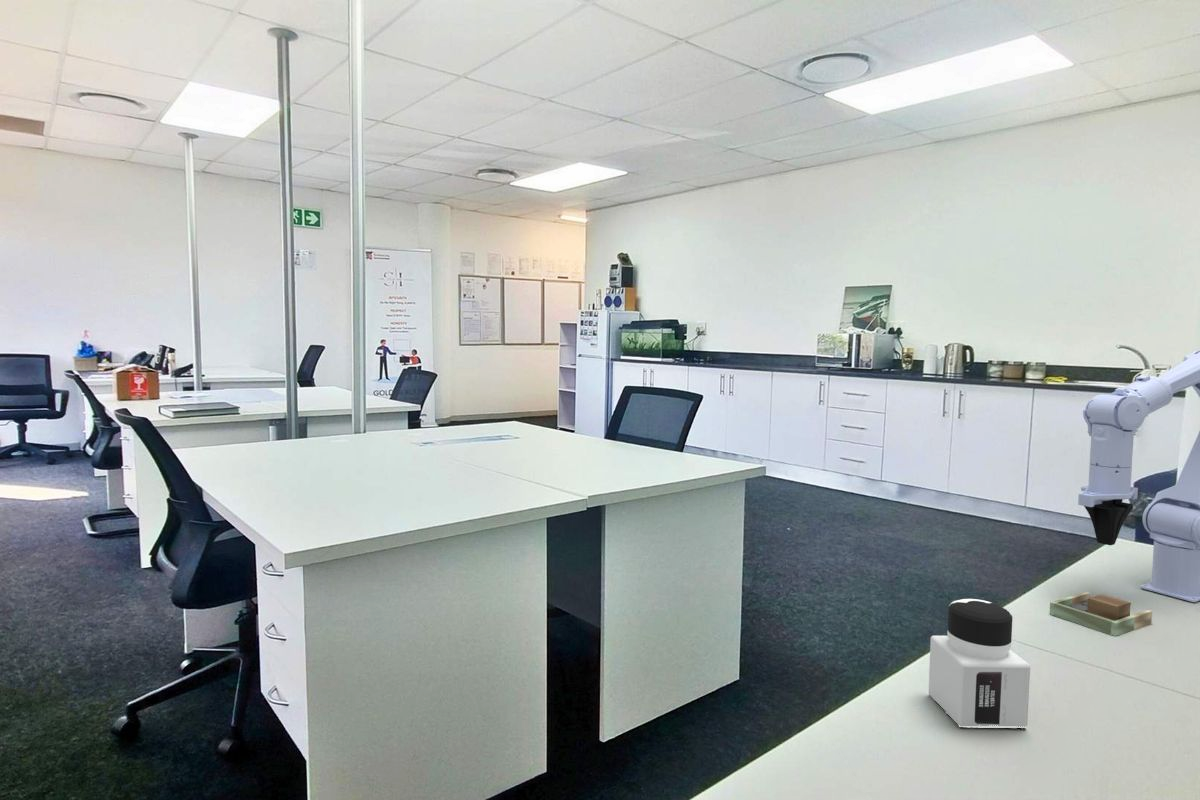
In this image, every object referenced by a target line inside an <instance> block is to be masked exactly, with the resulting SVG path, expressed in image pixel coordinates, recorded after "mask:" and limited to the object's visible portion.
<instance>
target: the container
mask: <svg viewBox="0 0 1200 800" xmlns="http://www.w3.org/2000/svg"><path fill="white" fill-rule="evenodd" d="M947 614H948V615H947V635H932V636H930V645H929V646H930V647H929V669H928V670H929V672H928V696H930V698H932V700H933V701H936V702H937V703H938V704H939V705H940V706H941V707H942V708H943V709H944V710H945V711H946V712H945V711H944V710H943V709H942V708H941V707H940V706H939V705H938V704H937V703H936V702H935V703H936V704H937V705H938V706H939V707H940V708H941V709H942V710H943V711H944V712H945V713H946V715H947V714H948V715H949V716H950V717H951V718H952V719H953V720H954V721H955V722H956V723H957V724H958V725H960V726H979V725H980V726H989V725H990V726H991V725H992V726H993V725H994V726H995V725H996V726H997V725H998V726H1018V727H1019V726H1020V727H1021V726H1022V727H1023V726H1024V727H1025V726H1027V727H1028V721H1029V720H1028V719H1029V717H1028V716H1029V700H1030V681H1031V680H1030V677H1031V665H1030V664H1029V662H1027V661H1026V660H1024V658H1022V657H1020V656H1019V655H1017V653H1015V652H1014V651H1013V650H1011V649H1012V637H1013V619H1014V617H1013V615H1012V614H1011V613H1010V611H1009V610H1008V609H1006V608H1005V607H1003V606H1001V605H999V604H997V603H995V602H994V603H993V602H990V601H987V600H984V599H977V598H976V599H975V598H962V599H957V600H956V599H955V600H953V601H952V602H951V603H949V605H948V611H947ZM948 715H947V716H948ZM949 716H948V717H949ZM950 717H949V718H950ZM951 718H950V719H951ZM952 719H951V720H952ZM953 720H952V721H953ZM954 721H953V722H954ZM955 722H954V723H955ZM956 723H955V724H956ZM957 724H956V725H957ZM958 725H957V726H958Z"/></svg>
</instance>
